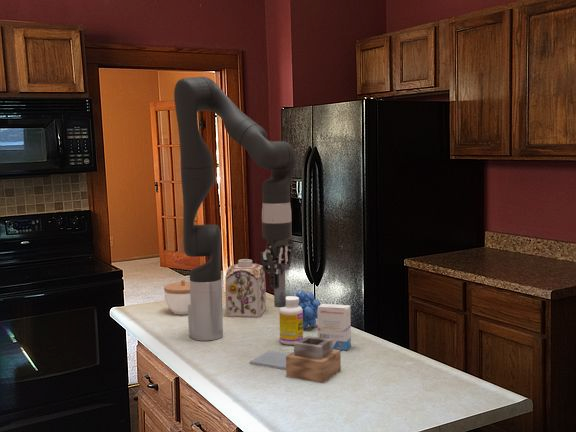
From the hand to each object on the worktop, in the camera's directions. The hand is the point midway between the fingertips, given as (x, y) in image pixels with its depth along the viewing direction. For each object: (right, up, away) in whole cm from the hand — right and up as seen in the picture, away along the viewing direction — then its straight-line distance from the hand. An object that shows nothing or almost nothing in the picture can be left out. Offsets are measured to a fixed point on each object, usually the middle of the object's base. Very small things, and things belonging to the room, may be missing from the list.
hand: (278, 286), depth 170 cm
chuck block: (+9, -21, -7) cm, 24 cm away
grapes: (+8, -17, +31) cm, 36 cm away
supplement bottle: (+4, -18, +18) cm, 26 cm away
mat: (0, -20, +2) cm, 20 cm away
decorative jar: (-11, -15, +51) cm, 55 cm away
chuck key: (+1, -5, 0) cm, 5 cm away
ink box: (+15, -18, +13) cm, 27 cm away
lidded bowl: (-33, -15, +54) cm, 65 cm away
